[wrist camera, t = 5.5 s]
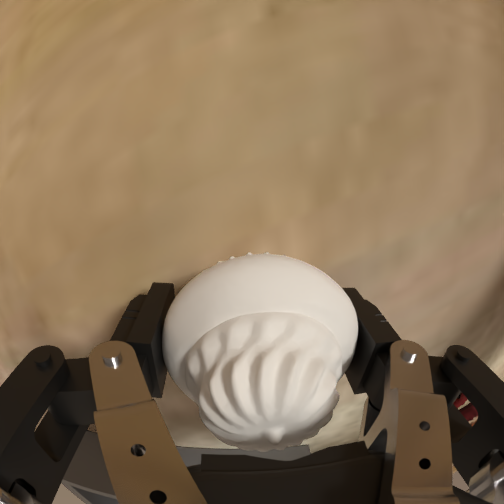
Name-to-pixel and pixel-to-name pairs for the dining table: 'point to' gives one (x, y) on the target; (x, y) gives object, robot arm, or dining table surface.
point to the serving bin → (98, 481)
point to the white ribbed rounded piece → (261, 348)
